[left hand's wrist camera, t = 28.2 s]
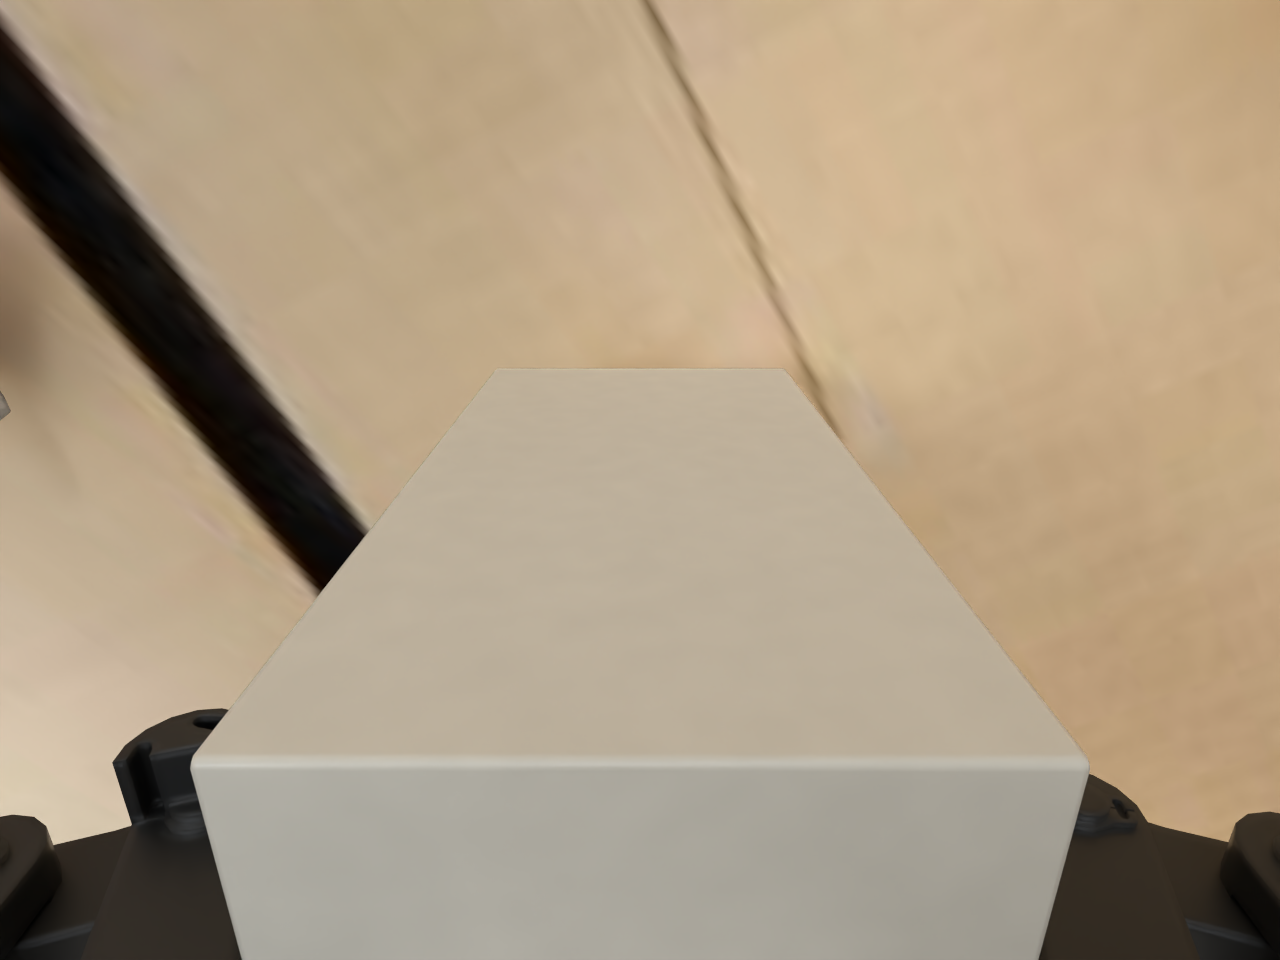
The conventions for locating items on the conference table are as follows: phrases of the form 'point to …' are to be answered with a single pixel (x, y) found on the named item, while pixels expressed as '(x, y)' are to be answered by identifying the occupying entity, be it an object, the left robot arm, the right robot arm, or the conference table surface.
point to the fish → (3, 407)
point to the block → (640, 707)
